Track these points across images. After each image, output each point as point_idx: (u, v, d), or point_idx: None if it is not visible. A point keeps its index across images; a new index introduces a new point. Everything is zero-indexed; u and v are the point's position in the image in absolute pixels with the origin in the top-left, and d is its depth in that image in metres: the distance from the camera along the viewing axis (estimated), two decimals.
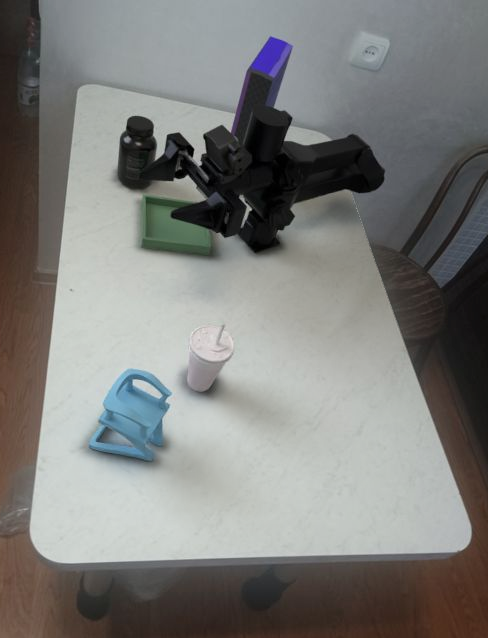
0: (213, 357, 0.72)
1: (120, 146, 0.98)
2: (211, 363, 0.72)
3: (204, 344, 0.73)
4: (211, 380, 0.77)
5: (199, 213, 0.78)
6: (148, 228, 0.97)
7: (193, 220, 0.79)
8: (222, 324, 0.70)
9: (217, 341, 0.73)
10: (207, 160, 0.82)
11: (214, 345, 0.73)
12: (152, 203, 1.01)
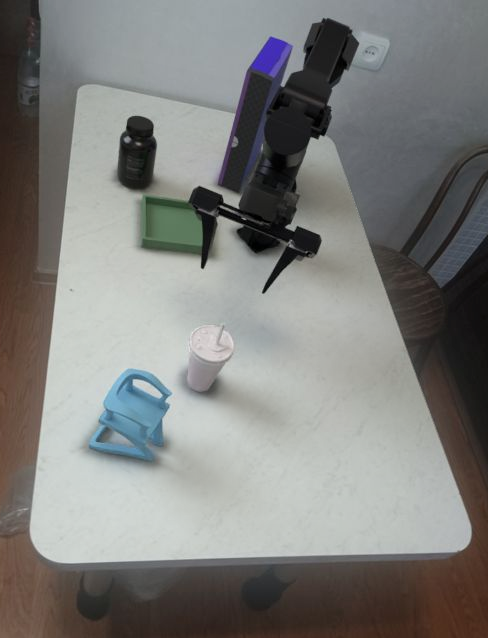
0: (213, 357, 0.72)
1: (120, 146, 0.98)
2: (211, 363, 0.72)
3: (204, 344, 0.73)
4: (211, 380, 0.77)
5: None
6: (148, 228, 0.97)
7: None
8: (222, 324, 0.70)
9: (217, 341, 0.73)
10: None
11: (214, 345, 0.73)
12: (152, 203, 1.01)
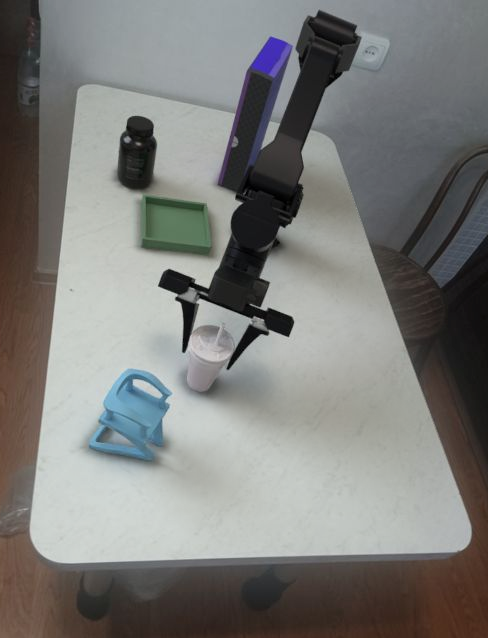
0: (213, 357, 0.72)
1: (120, 146, 0.98)
2: (211, 363, 0.72)
3: (204, 344, 0.73)
4: (211, 380, 0.77)
5: None
6: (148, 228, 0.97)
7: None
8: (222, 324, 0.70)
9: (217, 341, 0.73)
10: None
11: (214, 345, 0.73)
12: (152, 203, 1.01)
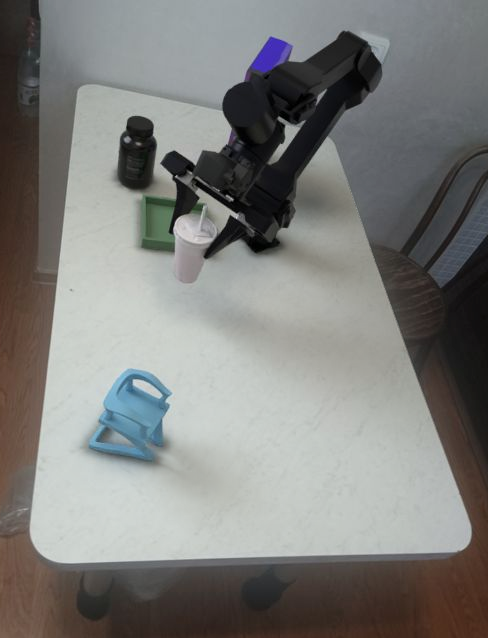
0: (191, 239, 0.76)
1: (120, 146, 0.98)
2: (188, 244, 0.76)
3: (187, 227, 0.77)
4: (192, 270, 0.81)
5: (226, 238, 0.77)
6: (148, 228, 0.97)
7: (225, 245, 0.78)
8: (204, 206, 0.74)
9: (200, 226, 0.76)
10: None
11: (196, 230, 0.76)
12: (152, 203, 1.01)
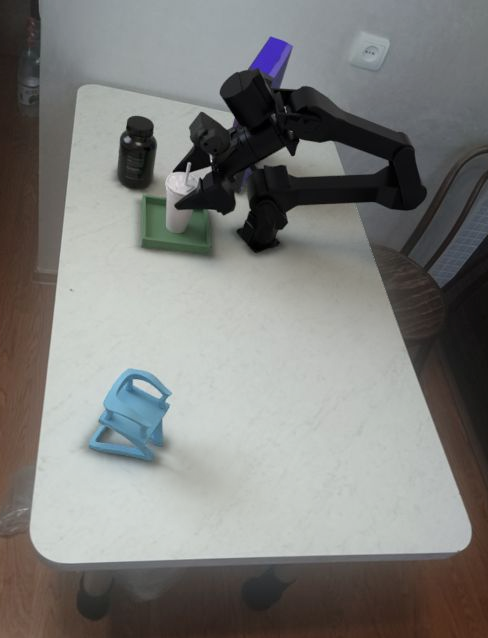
0: (171, 184, 0.91)
1: (120, 146, 0.98)
2: (167, 187, 0.91)
3: (179, 179, 0.92)
4: (171, 217, 0.96)
5: (195, 199, 0.88)
6: (148, 228, 0.97)
7: (195, 206, 0.89)
8: (188, 163, 0.88)
9: (184, 181, 0.91)
10: None
11: (181, 183, 0.92)
12: (152, 203, 1.01)
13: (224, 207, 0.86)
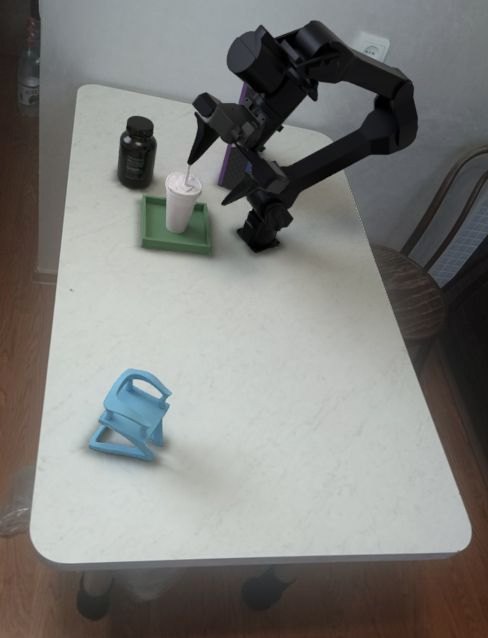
0: (171, 184, 0.91)
1: (120, 146, 0.98)
2: (167, 187, 0.91)
3: (179, 179, 0.92)
4: (171, 217, 0.96)
5: (243, 190, 0.84)
6: (148, 228, 0.97)
7: (243, 195, 0.85)
8: None
9: (184, 181, 0.91)
10: None
11: (181, 183, 0.92)
12: (152, 203, 1.01)
13: (280, 188, 0.83)
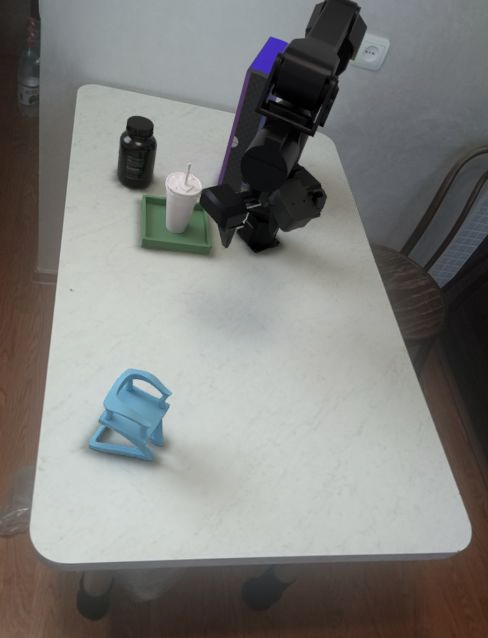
0: (171, 184, 0.91)
1: (120, 146, 0.98)
2: (167, 187, 0.91)
3: (179, 179, 0.92)
4: (171, 217, 0.96)
5: None
6: (148, 228, 0.97)
7: None
8: (188, 163, 0.88)
9: (184, 181, 0.91)
10: (270, 202, 0.74)
11: (181, 183, 0.92)
12: (152, 203, 1.01)
13: None
